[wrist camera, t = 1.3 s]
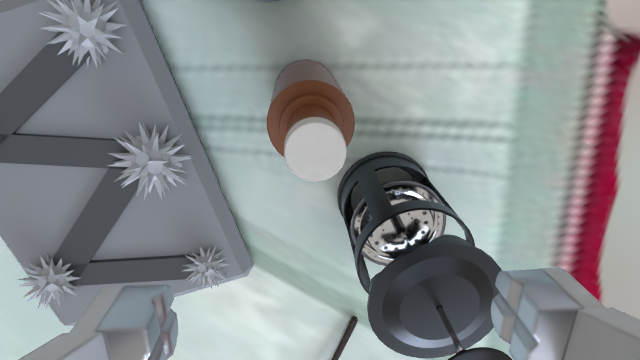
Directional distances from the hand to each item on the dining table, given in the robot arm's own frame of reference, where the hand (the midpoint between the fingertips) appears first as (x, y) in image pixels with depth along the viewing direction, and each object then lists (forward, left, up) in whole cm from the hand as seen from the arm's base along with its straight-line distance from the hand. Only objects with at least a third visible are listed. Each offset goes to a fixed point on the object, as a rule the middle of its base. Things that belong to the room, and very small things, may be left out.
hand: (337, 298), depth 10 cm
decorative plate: (+20, +7, -29) cm, 36 cm away
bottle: (0, 0, -29) cm, 29 cm away
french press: (-8, +11, -29) cm, 32 cm away
